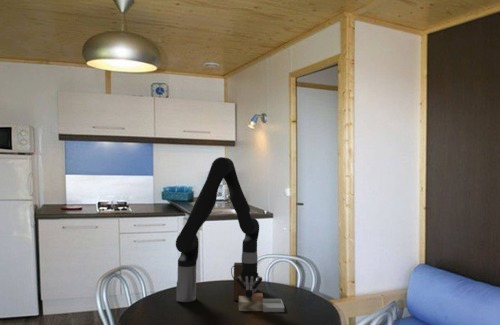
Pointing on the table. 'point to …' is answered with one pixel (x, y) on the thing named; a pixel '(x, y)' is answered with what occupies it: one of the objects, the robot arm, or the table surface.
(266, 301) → the tray
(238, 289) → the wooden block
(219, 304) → the table surface
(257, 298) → the tile
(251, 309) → the beige patterned box
